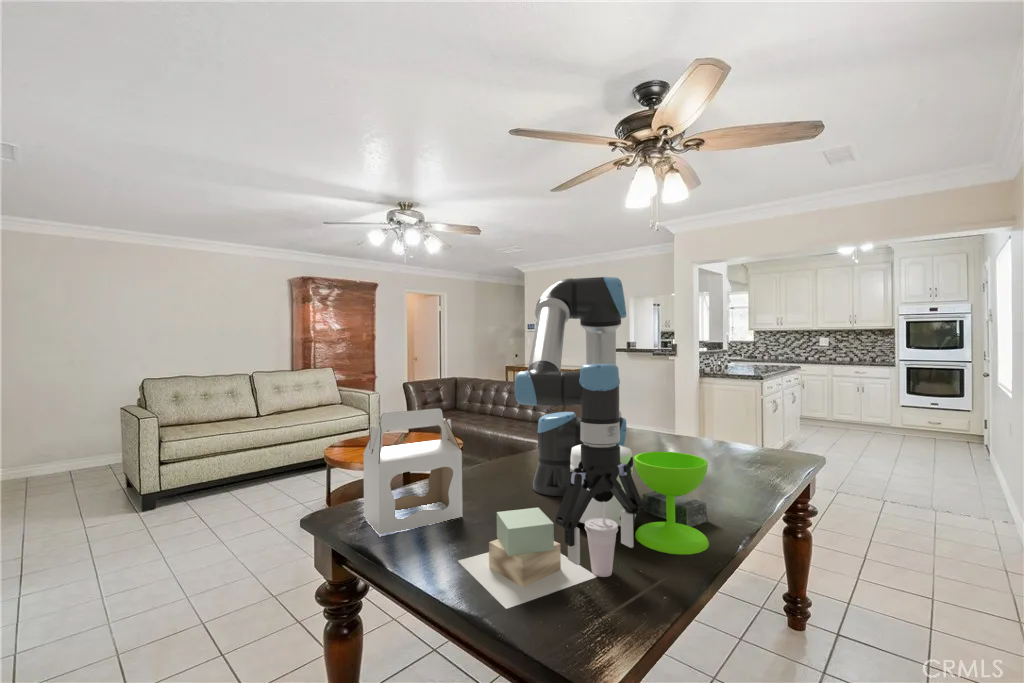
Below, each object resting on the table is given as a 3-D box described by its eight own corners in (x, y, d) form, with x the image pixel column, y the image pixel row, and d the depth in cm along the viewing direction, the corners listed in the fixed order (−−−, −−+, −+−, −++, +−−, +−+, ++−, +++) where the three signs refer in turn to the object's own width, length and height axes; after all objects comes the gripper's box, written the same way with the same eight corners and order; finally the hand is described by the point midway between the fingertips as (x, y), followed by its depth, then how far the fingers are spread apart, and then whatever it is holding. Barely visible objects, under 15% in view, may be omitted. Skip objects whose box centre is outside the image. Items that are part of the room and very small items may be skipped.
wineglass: (648, 519, 115) (647, 448, 115) (716, 534, 105) (715, 457, 105) (624, 542, 102) (622, 462, 102) (698, 561, 92) (697, 473, 92)
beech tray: (489, 567, 90) (488, 542, 90) (526, 552, 96) (526, 528, 96) (522, 587, 82) (522, 559, 82) (560, 569, 89) (560, 543, 89)
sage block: (496, 536, 92) (496, 512, 93) (538, 531, 95) (538, 507, 95) (508, 556, 84) (508, 529, 84) (553, 549, 86) (553, 523, 86)
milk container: (650, 520, 114) (649, 449, 114) (612, 542, 102) (611, 462, 102) (593, 504, 126) (592, 439, 127) (553, 521, 114) (552, 450, 114)
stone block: (665, 505, 126) (665, 486, 126) (711, 522, 113) (711, 501, 113) (642, 511, 121) (642, 491, 121) (686, 530, 109) (686, 508, 109)
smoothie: (612, 585, 83) (611, 509, 83) (579, 576, 87) (578, 503, 87) (623, 570, 89) (622, 499, 89) (592, 562, 92) (591, 494, 92)
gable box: (442, 503, 129) (441, 404, 129) (463, 517, 117) (462, 409, 118) (362, 520, 116) (362, 411, 117) (378, 538, 105) (377, 418, 106)
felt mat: (457, 562, 93) (457, 560, 93) (538, 540, 103) (538, 538, 103) (506, 611, 76) (506, 608, 76) (597, 578, 86) (597, 576, 86)
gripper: (560, 455, 78) (561, 578, 78) (659, 439, 91) (661, 545, 91) (536, 447, 85) (537, 561, 85) (632, 433, 98) (633, 532, 97)
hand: (601, 553), depth 88 cm, fingers open, 13 cm apart
